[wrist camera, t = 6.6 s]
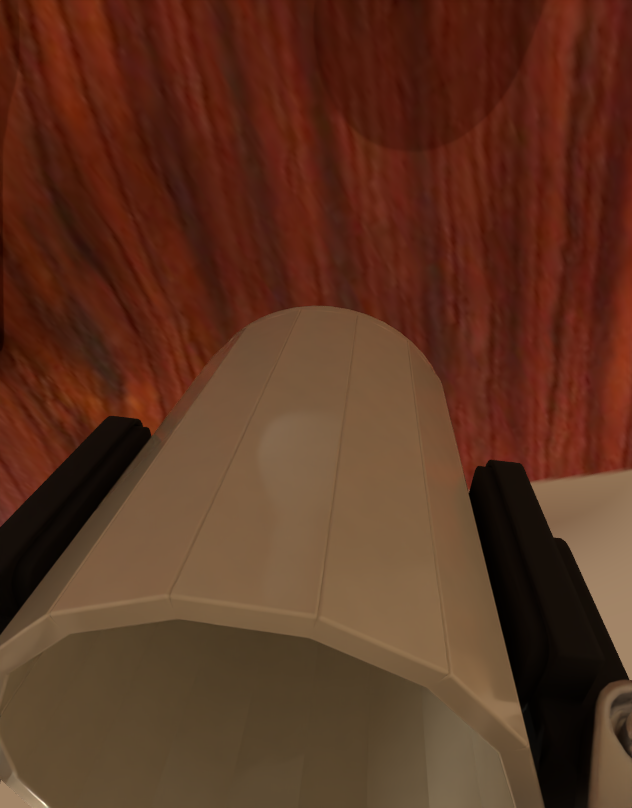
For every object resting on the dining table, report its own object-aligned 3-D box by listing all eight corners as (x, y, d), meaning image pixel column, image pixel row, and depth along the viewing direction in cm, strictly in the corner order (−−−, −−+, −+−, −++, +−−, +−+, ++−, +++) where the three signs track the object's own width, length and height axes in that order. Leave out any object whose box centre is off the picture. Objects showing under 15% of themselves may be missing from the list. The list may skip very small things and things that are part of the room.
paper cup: (195, 292, 11) (-117, 555, 4) (472, 319, 11) (642, 663, 4) (207, 504, 14) (38, 862, 7) (424, 532, 14) (469, 942, 7)
